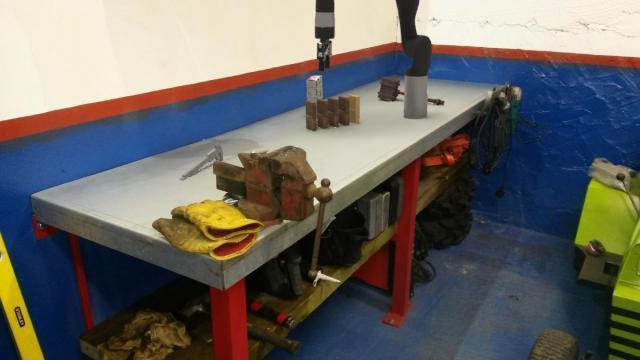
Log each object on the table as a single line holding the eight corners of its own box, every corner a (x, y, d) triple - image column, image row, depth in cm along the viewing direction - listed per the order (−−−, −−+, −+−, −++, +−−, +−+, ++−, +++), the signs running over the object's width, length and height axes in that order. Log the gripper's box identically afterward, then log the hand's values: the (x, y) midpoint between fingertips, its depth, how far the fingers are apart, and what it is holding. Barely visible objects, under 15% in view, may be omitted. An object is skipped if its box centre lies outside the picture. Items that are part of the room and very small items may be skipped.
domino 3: (331, 124, 205) (331, 97, 201) (338, 127, 200) (338, 99, 197) (327, 124, 204) (327, 97, 200) (334, 127, 200) (334, 99, 196)
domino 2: (321, 126, 202) (320, 98, 199) (328, 128, 198) (327, 100, 194) (317, 126, 202) (316, 99, 198) (324, 129, 197) (323, 101, 193)
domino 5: (352, 120, 209) (352, 94, 206) (359, 123, 205) (359, 96, 201) (348, 121, 209) (348, 94, 205) (355, 124, 204) (355, 96, 200)
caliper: (220, 160, 164) (218, 141, 162) (223, 160, 164) (221, 142, 162) (179, 181, 147) (177, 160, 145) (182, 181, 146) (180, 160, 144)
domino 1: (310, 127, 200) (309, 100, 196) (317, 130, 196) (316, 102, 192) (306, 128, 199) (305, 100, 195) (312, 131, 195) (312, 103, 191)
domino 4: (342, 122, 207) (342, 95, 203) (349, 125, 203) (349, 97, 199) (338, 123, 206) (338, 96, 202) (345, 125, 202) (345, 98, 198)
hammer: (382, 95, 253) (386, 75, 248) (443, 114, 238) (448, 94, 234) (376, 97, 247) (380, 77, 243) (438, 117, 233) (443, 96, 229)
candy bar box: (312, 112, 226) (311, 75, 220) (323, 112, 225) (322, 75, 219) (306, 118, 215) (305, 79, 210) (318, 118, 214) (317, 79, 209)
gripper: (319, 24, 195) (319, 67, 201) (310, 26, 182) (310, 71, 188) (338, 24, 194) (337, 67, 199) (330, 26, 181) (329, 72, 186)
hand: (324, 69), depth 193 cm, fingers open, 8 cm apart
